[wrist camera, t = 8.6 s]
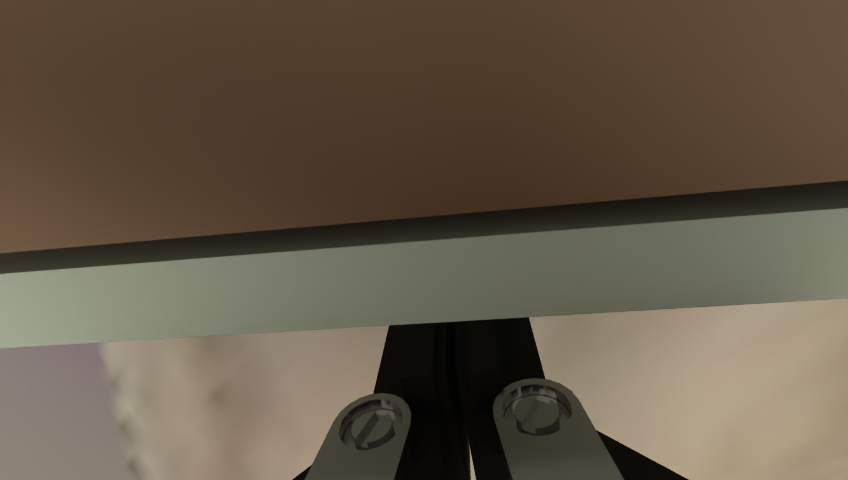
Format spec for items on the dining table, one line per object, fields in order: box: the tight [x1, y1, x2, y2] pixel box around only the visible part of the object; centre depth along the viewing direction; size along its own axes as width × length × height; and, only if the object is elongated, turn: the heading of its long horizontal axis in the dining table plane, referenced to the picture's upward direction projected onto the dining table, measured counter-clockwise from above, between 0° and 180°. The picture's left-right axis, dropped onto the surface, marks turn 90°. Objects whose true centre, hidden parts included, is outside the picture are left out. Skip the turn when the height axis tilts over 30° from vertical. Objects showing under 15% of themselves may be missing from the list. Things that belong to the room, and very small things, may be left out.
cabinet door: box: [0, 180, 848, 348], centre depth 11 cm, size 2×22×11 cm, turn 97°
